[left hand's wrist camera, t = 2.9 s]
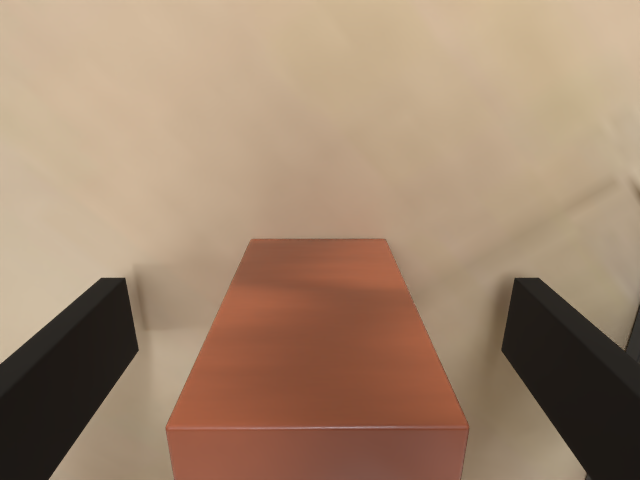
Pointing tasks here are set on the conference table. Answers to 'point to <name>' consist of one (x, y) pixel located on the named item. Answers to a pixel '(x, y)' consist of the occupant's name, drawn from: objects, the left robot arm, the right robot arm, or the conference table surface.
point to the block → (317, 374)
